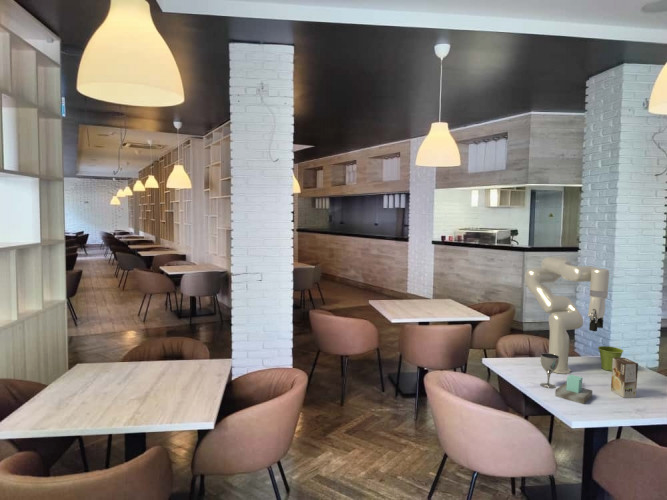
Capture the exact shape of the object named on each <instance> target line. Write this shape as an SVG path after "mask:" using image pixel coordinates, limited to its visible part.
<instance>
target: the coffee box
mask: <svg viewBox="0 0 667 500" xmlns="http://www.w3.org/2000/svg"><path fill="white" fill-rule="evenodd" d="M638 368H639V363H637V362H635V361H633V360H630V359H629V358H626V357H620V358H613V363H612V371H611V384H610V391H611V392H613V393H614V394H616V395H618V396H620V397H622V398H624V399H627V398H628V399H631V398H632V399H633V398H636V397H637V385H638V371H639V369H638Z"/></svg>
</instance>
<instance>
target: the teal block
mask: <svg viewBox="0 0 667 500" xmlns="http://www.w3.org/2000/svg"><path fill="white" fill-rule="evenodd" d="M583 379H584V378H583V377H582V376H577V375H573V374H569V375H568V376H567V377H566V384H567V388H566V390H568V391H572V392H576V393H579V392H580V391H581V390H582V388H583Z"/></svg>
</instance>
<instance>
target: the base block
mask: <svg viewBox="0 0 667 500" xmlns="http://www.w3.org/2000/svg"><path fill="white" fill-rule="evenodd" d="M566 388H567V382H566V383H563V384H561V385H560V386H559V387H558V388H557V387H556V388H555V394H554V396H555V397H557V398H560V399H563V400H567V401H571V402H575V403H578V404H581V405H585V404H586V403H587V402H589V401H590V399H592V397H593V390H591V389H588V388H584V387H582V390H581V391H580V392H579V393H576V392H572V391H568V390H566Z"/></svg>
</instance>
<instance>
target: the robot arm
mask: <svg viewBox="0 0 667 500" xmlns="http://www.w3.org/2000/svg"><path fill="white" fill-rule="evenodd" d="M560 278H563V279H564V280H568V281H570V282H575V283H578V282H579V283H580V282H581V283H582V282H588V283H589V282H590V283H589V295H588V296H589V298H590V299H589V303H588V304H589V305H588V312H587V316H588V318H589V325H588V326H589V328H588V329H589V331H591V332H597V331H598V328H599V329H603V327H604V316H605V311H606V299H608V298H609V297H608V295H609V281H610V271H609V269H606V268H601V267H600V268H599V267H596V266H591V265H590V266H587V265H586V266H585V265H584V266H582V265H579V266H576V265H575V266H574V265H573V262H571V261H570V260H569V259H568V258H566V257H564V256H547V257H545V258H543V259H542V261H541V267H532V268H529V269H527V271H525V274H524V282H525V284H526V287H527V290H529V291H530V292H531V293H532V295H533V296H534V297H535V299H536V300H537V302H538V304H539V305H540V307H541V308H542V310H543V312H544V313H547V314H550V315H549V316H548V327H549V342H548V353H550V354H555V355H557V356H559V363H558V366H557V368H556V369H555V370H554V371H553V372H552V373H556V374H562V375H563V374H570V373H572V371H571V368H570V367H569V354H570V353H569V350H570V336H569V334H568V332H567V331H569V330H578V329H581V328H582V327H583V325H584V318H583V316H582V314H581V312H580V311H579V309H578V308H577V307H576V306H575V304H574V303H573V301H572V300H571V299H570V298H569V297H568V296H565V295H564V296H563V295H561V296H560V295H554V294H553V293H552V292H551V290H550V288H548V287H547V286H546V285H545V284H546V283H554V282H556V281H557V280H559V279H560ZM543 283H545V284H543ZM539 361H540V363H541V358H540V360H539Z"/></svg>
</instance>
